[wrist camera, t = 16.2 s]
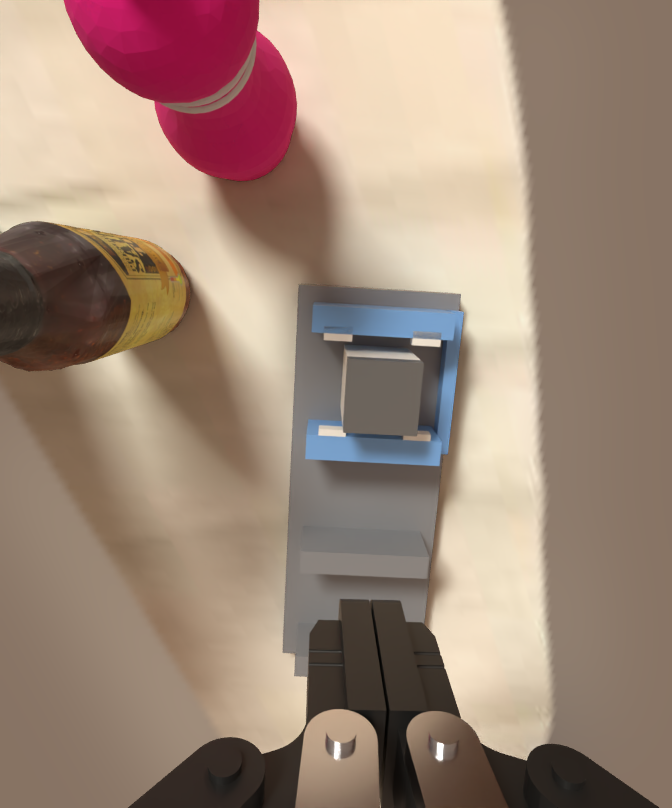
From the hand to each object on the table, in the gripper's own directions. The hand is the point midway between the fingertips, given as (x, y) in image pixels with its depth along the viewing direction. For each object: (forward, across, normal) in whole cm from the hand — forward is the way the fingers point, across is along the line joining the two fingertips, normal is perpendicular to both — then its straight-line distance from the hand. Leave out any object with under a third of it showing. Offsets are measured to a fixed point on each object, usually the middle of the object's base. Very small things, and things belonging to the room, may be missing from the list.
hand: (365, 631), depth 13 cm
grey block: (+22, -2, -2) cm, 23 cm away
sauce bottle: (+24, +13, -7) cm, 28 cm away
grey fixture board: (+24, -2, +5) cm, 25 cm away
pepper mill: (+24, +7, -17) cm, 30 cm away
